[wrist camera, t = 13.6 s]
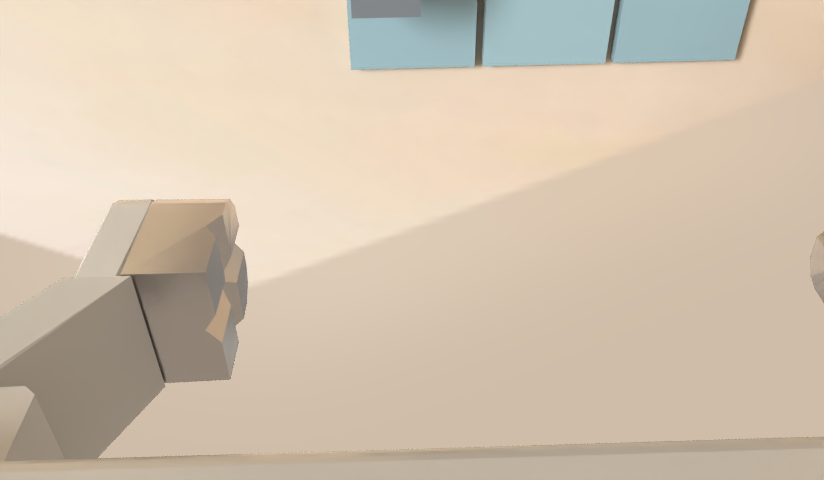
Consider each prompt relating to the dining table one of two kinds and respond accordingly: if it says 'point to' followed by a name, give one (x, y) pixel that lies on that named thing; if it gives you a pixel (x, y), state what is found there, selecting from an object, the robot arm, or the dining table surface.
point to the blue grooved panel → (540, 32)
